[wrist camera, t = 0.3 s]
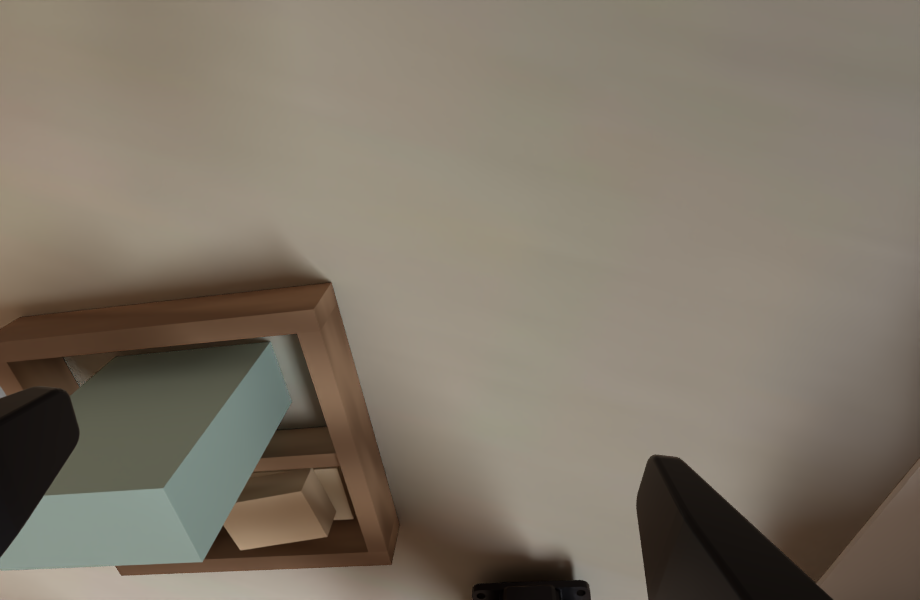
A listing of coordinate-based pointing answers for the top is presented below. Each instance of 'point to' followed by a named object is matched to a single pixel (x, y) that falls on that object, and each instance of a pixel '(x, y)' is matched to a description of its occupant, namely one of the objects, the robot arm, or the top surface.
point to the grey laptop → (882, 551)
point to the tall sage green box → (156, 459)
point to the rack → (339, 444)
